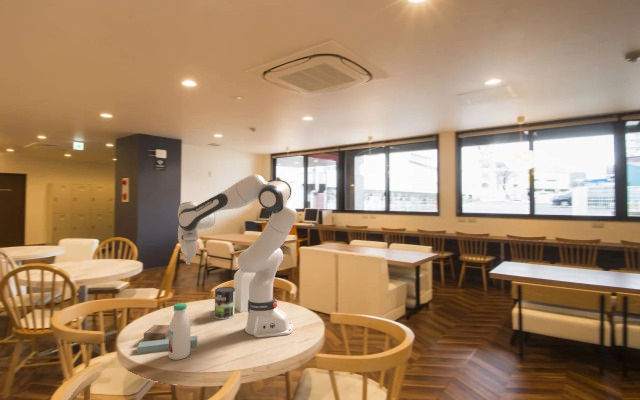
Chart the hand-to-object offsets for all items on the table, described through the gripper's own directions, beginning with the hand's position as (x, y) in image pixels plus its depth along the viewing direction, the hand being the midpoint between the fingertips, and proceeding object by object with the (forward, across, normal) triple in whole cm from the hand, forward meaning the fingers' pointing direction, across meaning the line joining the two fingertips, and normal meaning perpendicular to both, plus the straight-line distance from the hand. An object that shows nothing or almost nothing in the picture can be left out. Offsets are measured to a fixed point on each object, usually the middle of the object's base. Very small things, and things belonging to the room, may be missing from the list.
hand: (188, 263), depth 156 cm
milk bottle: (+31, +30, -8) cm, 44 cm away
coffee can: (+30, -6, +19) cm, 36 cm away
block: (+30, +10, -13) cm, 35 cm away
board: (+31, +20, -11) cm, 38 cm away
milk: (+30, -13, +33) cm, 47 cm away
